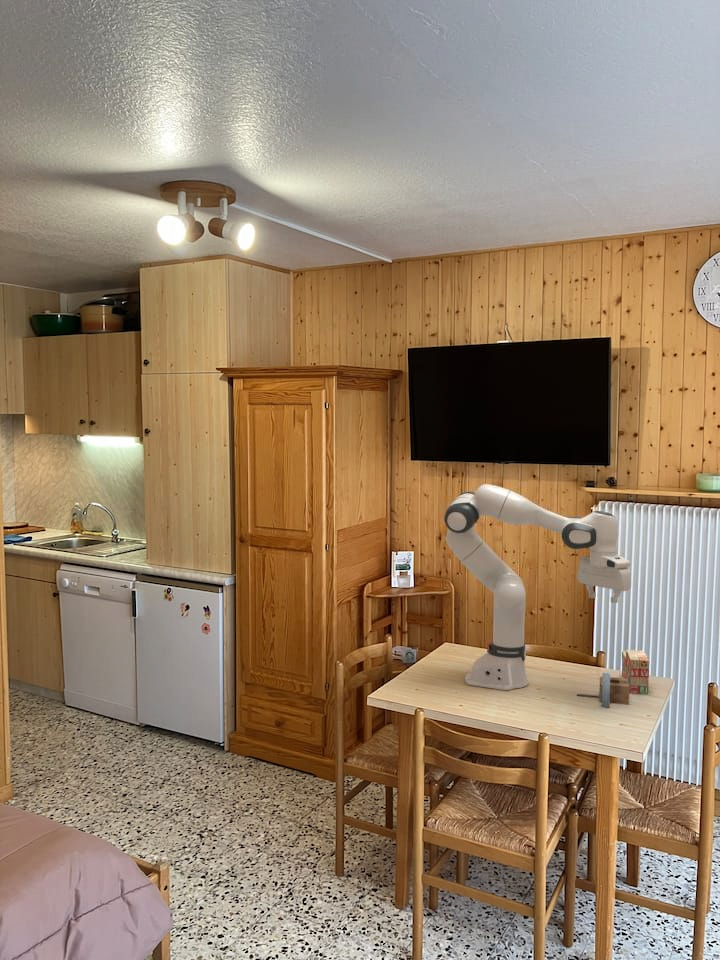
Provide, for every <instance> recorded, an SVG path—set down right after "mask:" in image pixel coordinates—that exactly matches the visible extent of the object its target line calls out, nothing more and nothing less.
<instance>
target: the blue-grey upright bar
mask: <svg viewBox="0 0 720 960" xmlns="http://www.w3.org/2000/svg"><path fill="white" fill-rule="evenodd" d="M601 677H602V702H601V707H602V708H603V707H604V708H603V709H610V704H611V703H610V677H611V673H608V672H602V676H601Z"/></svg>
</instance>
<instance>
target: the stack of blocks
mask: <svg viewBox="0 0 720 960" xmlns="http://www.w3.org/2000/svg"><path fill="white" fill-rule="evenodd" d="M649 659H650V658H648V656H647V654H646V653H645V651H644V650H641V649H640V650H635V649H625V650H623V651H621V660H622V661H621V667H622V668H621V670H622V671H621V674H622V675H621V676H622V678H627V680H628V684H629V694H631V693H632V694H633V695H649V677H650V660H649Z"/></svg>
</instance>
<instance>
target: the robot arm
mask: <svg viewBox="0 0 720 960" xmlns="http://www.w3.org/2000/svg"><path fill="white" fill-rule="evenodd" d="M483 516H486V517H487V516H488V517H491V518H493V519H495V520H499V521H501V522H504V523H506V524H509V525H515V526H525V525H533V526H538V527H541V528H544V529H545V530H549V531H551V532H554V533H556V534H559V535H561V541H562V542H563V544H564V545H565V546H566V547H568V548H569V549H572V550H582V549H587V548H589V556H588V557H587V556H582V557H581V558H580V559H579V560H578V561H579V565H578V569H577V577H576V579H577V581H578V583H580V584H582V585H583V584H585V588H586V590H587V592H588V598H589V599H595V598H596V597H597V596H596V595H597V594H596V592H594V591H595V590H594V587H597V588H603V589H608V590H613V596H611V597H610V602H611V603H613V604H618V602H619V597H620V595H621V594H622V592H627V591H630V590H631V588H632V573H631V570H630V567H631V561H630V560H629V559H626V558H625V557H623V556H622V555H620V554H618V548H617V541H618V538H619V537H618V523H617V522H618V521H617V518H616V517H615V515H613V514H612V513H610V512H606V511H603V510H601V511H600V510H593V511H592V512H591V513H589V514H587V515H585V516H584V517H583V516H582V517H581V516H576V517H575V516H572V517H570V516H568V517H567V516H565V515H562V514H558V513H556V512H553V511H550V510H548V509H546V508H544V507H542V506H539V505H538V504H535V503H534V502H532V501H531V500H529V499H528V498H526V497H525V496H523V495H521V494H519V493H517V492H514V491H512V490H510V489H507V488H504V487H501V486H498V485H494V484H488V483H484V484H481V485H480V486H478V488H477V489H476V491H475V492H473V491H464V492H463V493H460V494H459V495H458V496H457V497H455V499H453V500H452V501H451V502H450V504H449V506H448V507H447V509H446V511H445V513H444V524H445V526H446V527H447V528H448V530H447V532H446V535H445V542H446V544H447V546H448V547H449V549H450V550H451V551H452V553H453V554H454V555H455V556H456V558H457V559H458V560H459V561H460V562H461V563H462V565H463V566H464V567H465V568H466V569H467V570H468V571H469V572H471V574H472V575H473V576H474V577H475V578H476V579H477V580H478V581H480V582H481V583H482V585H484V586H485V587H486V588H487V589H489V591H490V592H491V593H492V594H493V620H492V622H493V623H492V634H493V635H492V640H488V641H487V642H486V649H487V651H486V652H485V653H484V654H483V655H481V656H480V657H479V658H477V659H476V660H475V661H474V662H473V664H472V666H471V670H470V671H469V672H468V673H467V674H466V675H465V677H464V682H465V684H467V685H469V686H475V687H481V688H482V687H483V688H486V689H487V688H488V689H494V690H501V691H511V690H513V689H514V690H515V689H520V688H524V687H526V686H528V684H529V681H528V676H527V673H526V671H527V670H526V664H525V660H526V657H527V656H526V653H527V652H526V651H527V650H526V643H525V617H526V604H527V603H526V595H527V592H526V588H525V586H524V582H523V580H522V578H521V577H520V576H519V575H518V574H517V573H516V572H515V571H514V570H513V569H512V568H511V567H510V566H509V564H507V563H506V562H505V561H503V560H502V559H501V558H500V557H499V556H498V555H497V554H496V552H495V551H493V549H492V548H491V547H490V546H489V545H488V544H487V543H486V542H485V541H484V539H482V538H481V537H480V535H479V534H478V533H477V532H476V530H475V525H476V524H477V522H478V521H479V519H480V517H483Z"/></svg>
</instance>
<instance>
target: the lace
mask: <svg viewBox="0 0 720 960" xmlns="http://www.w3.org/2000/svg"><path fill="white" fill-rule="evenodd" d="M576 697H583V698H584V697H585V698H597V699H599V695H595V694H581V693H576Z"/></svg>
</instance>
